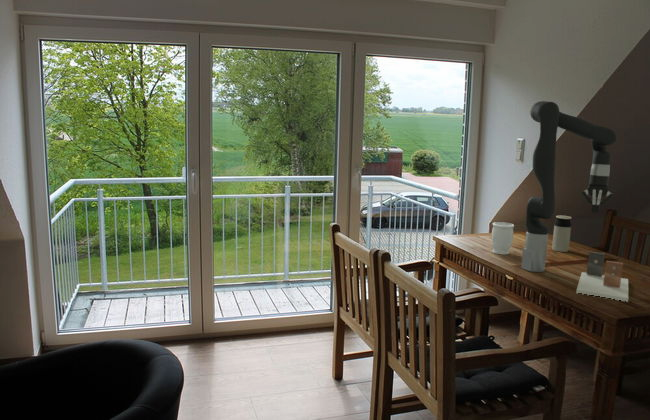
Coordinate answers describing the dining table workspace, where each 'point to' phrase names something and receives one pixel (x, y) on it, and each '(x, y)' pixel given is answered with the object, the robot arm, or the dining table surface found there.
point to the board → (602, 287)
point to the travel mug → (561, 234)
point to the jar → (502, 237)
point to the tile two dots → (613, 274)
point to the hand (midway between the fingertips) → (594, 212)
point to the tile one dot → (595, 263)
